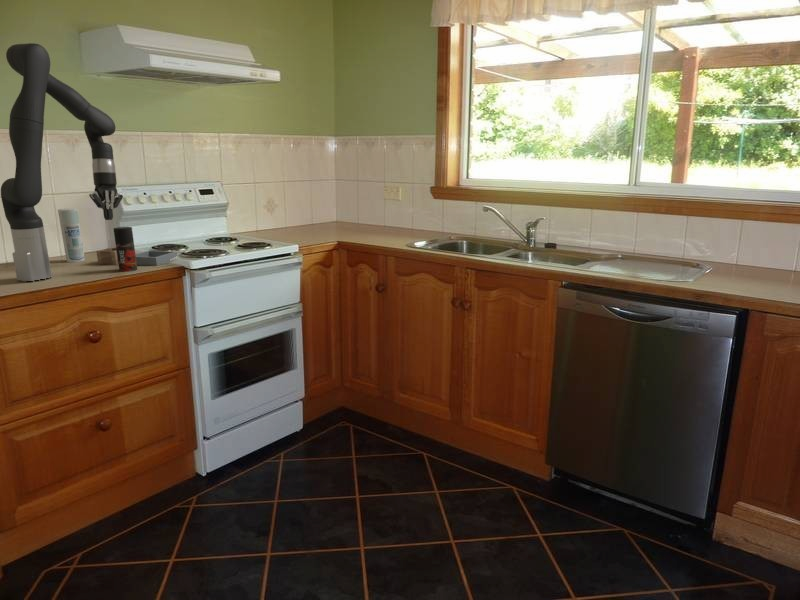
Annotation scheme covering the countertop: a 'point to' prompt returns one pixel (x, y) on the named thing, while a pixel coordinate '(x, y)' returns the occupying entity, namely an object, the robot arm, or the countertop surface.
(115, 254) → the brown square block
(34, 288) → the countertop surface
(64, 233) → the spray can
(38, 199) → the robot arm
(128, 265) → the deodorant
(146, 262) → the tray
